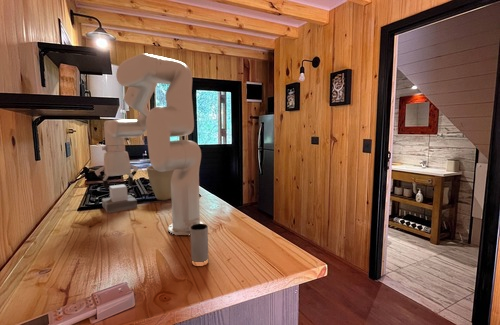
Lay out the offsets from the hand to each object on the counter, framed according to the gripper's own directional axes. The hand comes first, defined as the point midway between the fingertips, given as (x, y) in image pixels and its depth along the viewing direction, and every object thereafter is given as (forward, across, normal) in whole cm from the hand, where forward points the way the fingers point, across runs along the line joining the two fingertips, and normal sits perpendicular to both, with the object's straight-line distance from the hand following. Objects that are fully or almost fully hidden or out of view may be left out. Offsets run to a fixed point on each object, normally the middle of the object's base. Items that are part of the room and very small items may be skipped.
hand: (118, 187), depth 120 cm
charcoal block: (+10, 0, 0) cm, 10 cm away
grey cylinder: (+10, +6, -66) cm, 67 cm away
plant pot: (+9, +21, +2) cm, 23 cm away
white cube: (+6, 0, 0) cm, 6 cm away
